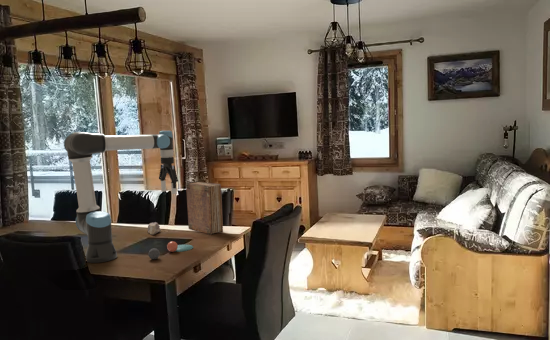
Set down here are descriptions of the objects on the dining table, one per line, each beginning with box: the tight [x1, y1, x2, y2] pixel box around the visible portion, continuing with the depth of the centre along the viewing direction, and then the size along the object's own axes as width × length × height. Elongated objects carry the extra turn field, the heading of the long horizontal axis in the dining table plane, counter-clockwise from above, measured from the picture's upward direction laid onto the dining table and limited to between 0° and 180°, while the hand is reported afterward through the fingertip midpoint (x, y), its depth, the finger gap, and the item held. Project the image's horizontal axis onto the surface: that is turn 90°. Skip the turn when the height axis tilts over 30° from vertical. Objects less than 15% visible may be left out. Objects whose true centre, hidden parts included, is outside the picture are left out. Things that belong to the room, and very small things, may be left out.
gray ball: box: [148, 247, 161, 260], centre depth 225 cm, size 6×6×6 cm
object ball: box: [166, 240, 179, 253], centre depth 237 cm, size 6×6×6 cm
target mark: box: [173, 244, 194, 253], centre depth 244 cm, size 13×13×1 cm
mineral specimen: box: [147, 221, 161, 236], centre depth 281 cm, size 13×7×6 cm, turn 30°
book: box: [185, 181, 224, 236], centre depth 282 cm, size 25×9×30 cm, turn 43°
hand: (168, 192), depth 266 cm, fingers open, 13 cm apart
